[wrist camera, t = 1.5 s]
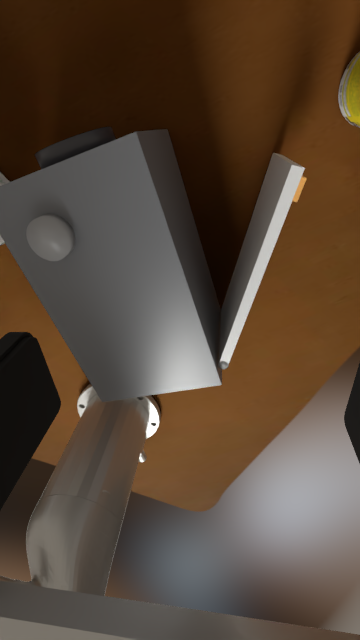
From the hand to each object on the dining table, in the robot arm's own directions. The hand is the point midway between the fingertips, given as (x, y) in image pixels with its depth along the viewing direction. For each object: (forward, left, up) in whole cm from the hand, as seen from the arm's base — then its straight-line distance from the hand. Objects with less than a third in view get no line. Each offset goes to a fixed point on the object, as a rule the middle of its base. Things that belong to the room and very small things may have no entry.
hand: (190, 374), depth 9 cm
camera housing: (-3, +9, -24) cm, 26 cm away
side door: (-5, -2, -24) cm, 24 cm away
